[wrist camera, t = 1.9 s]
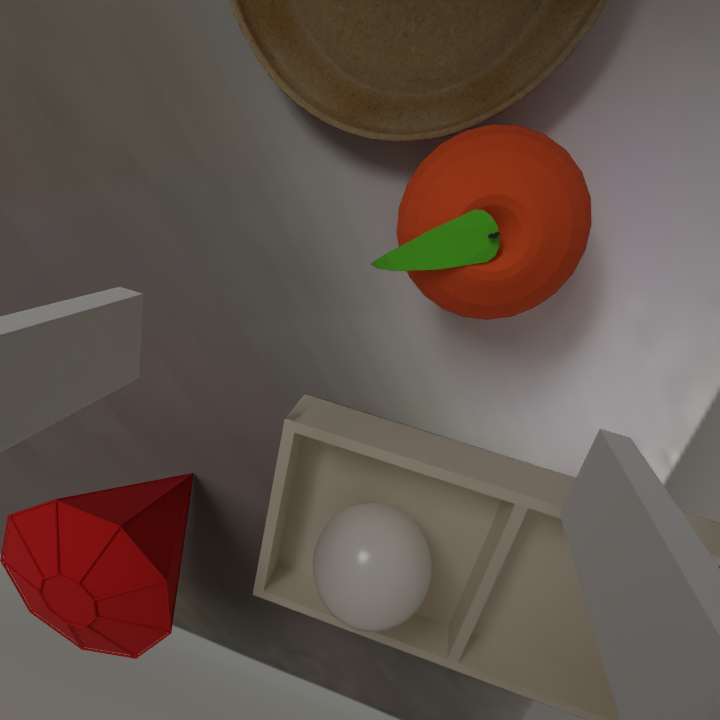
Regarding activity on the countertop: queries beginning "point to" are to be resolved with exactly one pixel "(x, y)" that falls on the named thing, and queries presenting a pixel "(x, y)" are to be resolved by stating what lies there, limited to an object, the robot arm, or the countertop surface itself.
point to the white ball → (372, 566)
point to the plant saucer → (411, 57)
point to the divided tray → (448, 551)
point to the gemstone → (103, 563)
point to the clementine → (492, 222)
